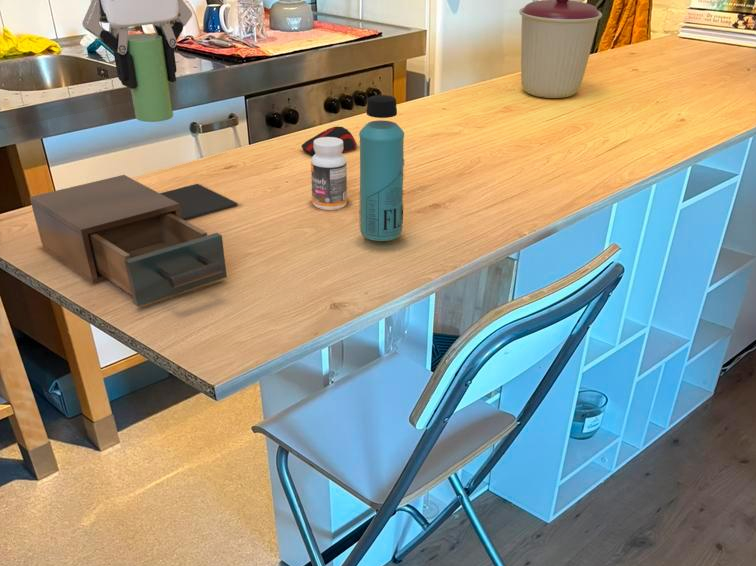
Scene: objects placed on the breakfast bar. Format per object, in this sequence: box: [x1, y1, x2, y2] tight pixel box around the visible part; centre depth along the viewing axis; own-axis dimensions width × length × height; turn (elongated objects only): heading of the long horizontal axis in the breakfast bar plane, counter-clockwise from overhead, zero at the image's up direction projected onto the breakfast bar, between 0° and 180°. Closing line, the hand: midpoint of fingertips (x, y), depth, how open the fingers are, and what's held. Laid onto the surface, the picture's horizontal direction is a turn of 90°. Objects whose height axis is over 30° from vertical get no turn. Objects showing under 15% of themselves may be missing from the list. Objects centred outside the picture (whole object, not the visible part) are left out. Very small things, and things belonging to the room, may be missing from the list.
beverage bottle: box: [358, 94, 406, 242], centre depth 115 cm, size 6×7×20 cm
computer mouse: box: [300, 126, 357, 157], centre depth 153 cm, size 6×11×4 cm, turn 133°
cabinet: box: [29, 174, 182, 285], centre depth 115 cm, size 16×15×8 cm
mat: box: [159, 183, 238, 221], centre depth 132 cm, size 12×12×1 cm
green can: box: [127, 33, 174, 123], centre depth 107 cm, size 5×5×10 cm
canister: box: [518, 0, 603, 99], centre depth 183 cm, size 18×18×21 cm
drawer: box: [88, 212, 228, 307], centre depth 107 cm, size 19×13×6 cm
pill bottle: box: [310, 137, 348, 211], centre depth 130 cm, size 6×6×10 cm
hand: (148, 81), depth 108 cm, fingers closed on green can, 5 cm apart
